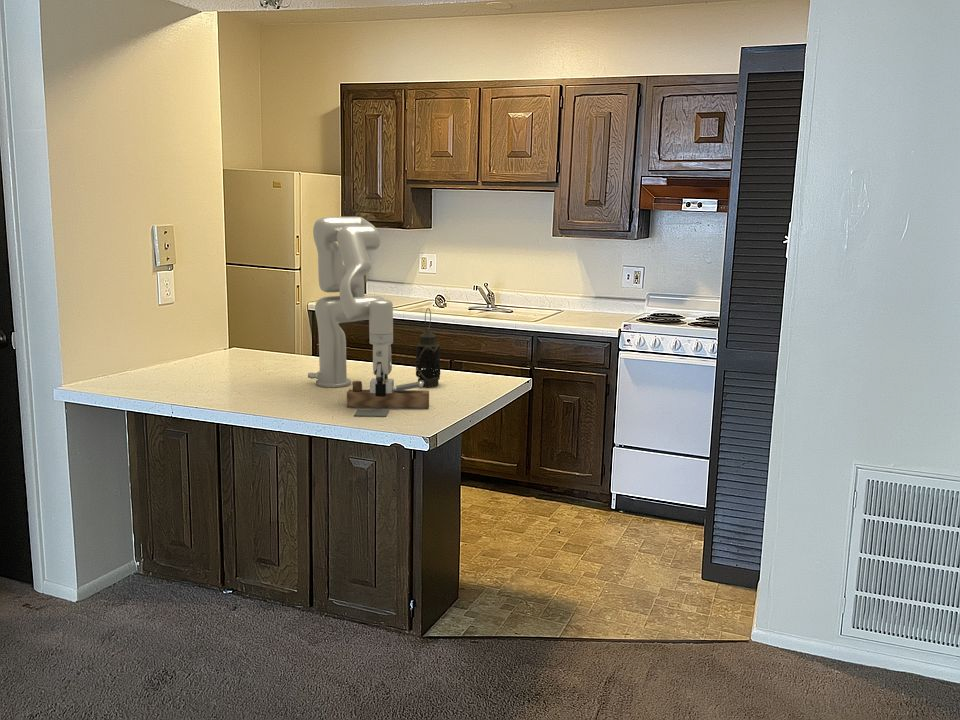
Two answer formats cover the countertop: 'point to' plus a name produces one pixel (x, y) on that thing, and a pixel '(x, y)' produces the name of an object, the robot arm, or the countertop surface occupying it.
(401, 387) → the lever
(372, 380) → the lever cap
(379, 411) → the mat
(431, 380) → the lantern
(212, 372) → the countertop surface
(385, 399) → the plane body
